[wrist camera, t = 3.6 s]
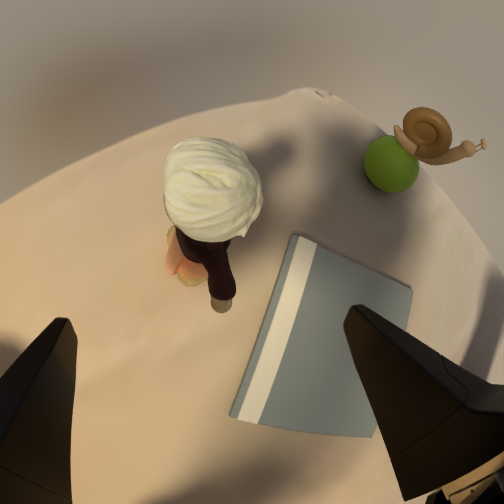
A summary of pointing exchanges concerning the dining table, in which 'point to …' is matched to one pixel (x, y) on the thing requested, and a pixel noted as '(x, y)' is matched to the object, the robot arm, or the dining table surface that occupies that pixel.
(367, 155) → the snail figurine
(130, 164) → the dining table surface
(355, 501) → the dining table surface
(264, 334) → the mat
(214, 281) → the grandmother figurine
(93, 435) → the dining table surface
